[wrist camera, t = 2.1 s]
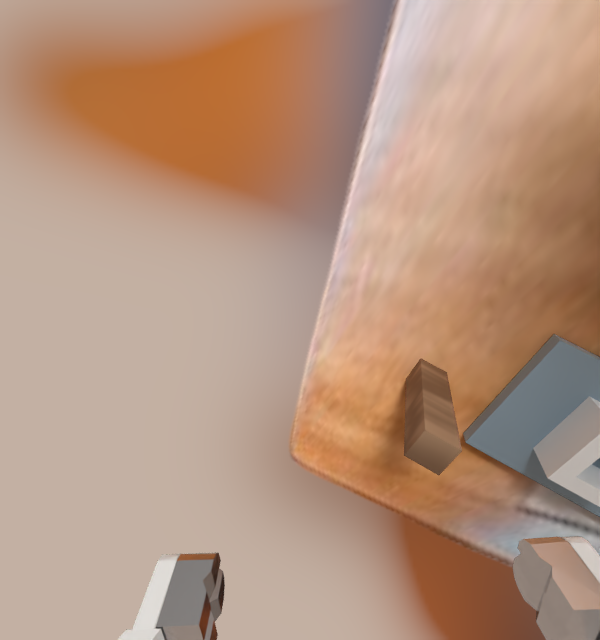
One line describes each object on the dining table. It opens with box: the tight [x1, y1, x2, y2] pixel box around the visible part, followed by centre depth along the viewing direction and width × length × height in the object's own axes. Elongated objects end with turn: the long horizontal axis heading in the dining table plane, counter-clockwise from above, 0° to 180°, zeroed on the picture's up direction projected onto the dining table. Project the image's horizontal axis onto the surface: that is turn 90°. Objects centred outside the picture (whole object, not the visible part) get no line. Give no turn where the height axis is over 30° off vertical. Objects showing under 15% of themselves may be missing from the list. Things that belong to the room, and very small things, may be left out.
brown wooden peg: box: [404, 359, 462, 475], centre depth 31 cm, size 3×3×12 cm
